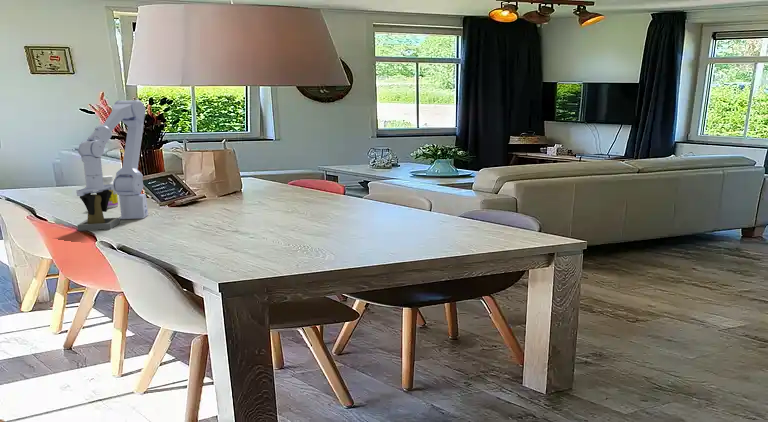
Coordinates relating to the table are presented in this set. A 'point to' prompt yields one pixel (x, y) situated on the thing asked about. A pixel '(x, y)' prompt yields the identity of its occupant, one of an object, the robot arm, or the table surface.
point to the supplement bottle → (113, 198)
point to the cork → (96, 212)
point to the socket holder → (99, 224)
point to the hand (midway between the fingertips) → (97, 213)
